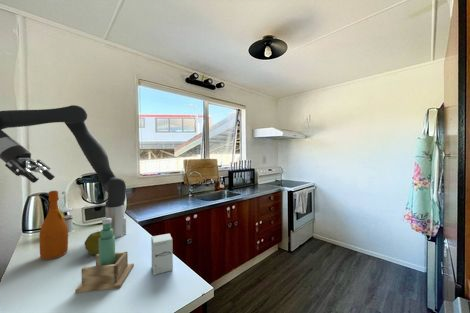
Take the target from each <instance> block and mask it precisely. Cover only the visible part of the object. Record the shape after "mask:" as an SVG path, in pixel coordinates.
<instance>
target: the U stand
mask: <svg viewBox="0 0 470 313" xmlns="http://www.w3.org/2000/svg"><path fill="white" fill-rule="evenodd" d="M128 256H129V255H128V251H119V252H116V251H115V264H112V265H101V266H99V254H97V255H95V265H92V266H83V267H81V283H80V284H79V285H78V286H77V287H76V288H75V289H74V290H75V291H74V292H75V294H77V293H85V292H86V293H87V292H94V291H95V292H96V291H103V290H105V291H106V290H112V289H113V290H114V289H120V288H122V286H123V284H124V283H125V281H126V279H127V278H128V277H129V275H130V274H131V271H132V270H133V268H134V266H135V263H129V262H128V258H129V257H128Z"/></svg>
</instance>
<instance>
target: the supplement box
mask: <svg viewBox="0 0 470 313" xmlns="http://www.w3.org/2000/svg"><path fill="white" fill-rule="evenodd" d="M173 244H174V243H173V237H172V236H171V233H165V234H159V235H153V236H151V269H152V275H153V276H156V275H160V274H162V273H167V272H171V270H172V271H173V270H174V267H173V266H174V265H173V264H174V262H173V261H174V260H173V254H174V253H173V252H174V251H173V248H174V247H173Z"/></svg>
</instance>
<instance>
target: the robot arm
mask: <svg viewBox="0 0 470 313" xmlns="http://www.w3.org/2000/svg"><path fill="white" fill-rule="evenodd" d="M87 119H88V112H87V110H86V109H85V108H83V107H82V106H80V105H74V104H73V105H68V106H63V107H56V108H55V107H54V108H46V109H45V108H43V109H14V110H0V160H1V161H3V162H4V163H5V164H4V166H5V167H6V168H7V169H8V170H10V171H11V173H12V174H14V175H15V176H17V177H23V178H26V179H27V180H29V182H31V183H32V184H34V183H37V182H38V181H39V180H40V179H39V177H37V175H35V174H34V173H39V174H42V176H44V177H45V178H46V179H48V181H52V180H53V179H54V178H55V177H56V176H55V175H54V174H53V173H52V172H50V170H51V169H52V168H51V167H50V166H49V165H47V164H46V163H45V162H43V161H42V160H41V159H36V160H34V159H32V153H31V152H30V151H29V150H27V149H26V148H25V147H24V146H23V145H21V143H19V142H18V141H16V140H15V139H14V138H12V137H11V136H9V134H7V133H6V132H5V131H4V129H9V128H10V129H11V128H21V127H22V128H23V127H31V126H37V125H38V126H39V125H45V124H51V123H64V124H65V125H66V127H67V128H68V129H69V130H70V132H71V134H72V135H73V136H74V138H75V141H76V142H77V144H78V145H79V148H80V149H81V151H82V153H83V155H84V156H85V158H86V160H87V162H88V163H89V164H90V166H91V167H92V169H93V171H94V172H95V173H96V174H97V177H98V179H99V181H100V184H101V186H102V188H103V190H104V191H105V192H106V193H107V200H106V201H105V218H112V223H111V228H113V235H114V236H115V239H118V238H120V237H123V236H124V235H126V234H127V217H125V201H126V194H127V192H126V190H127V187H126V186H127V185H126V182H125V180H123V179H122V178H120V177H117V176H116V175H115V174H114V172H113V170H112V168H111V166H110V162H109V157H108V155H107V152H106V150H105V148H104V146H103V145H102V143H101V142H100V141H99V140H98V139H97V138H96V137H95V135H93V133H92V132H91V131H90V130H89V128H88V126H87V125H86V122H85V121H86V120H87ZM17 170H18V171H17ZM33 172H34V173H33Z"/></svg>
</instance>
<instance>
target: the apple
mask: <svg viewBox="0 0 470 313" xmlns="http://www.w3.org/2000/svg"><path fill="white" fill-rule="evenodd" d="M99 238H101V230H100V231H99V230H98V231H95V232H92V233H90V234H89V235H88V236H87V237H86V239H85V241H84V247H85V250H86V251H87V253H88V254H89V255H93V256H96V255H97V254H99Z"/></svg>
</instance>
